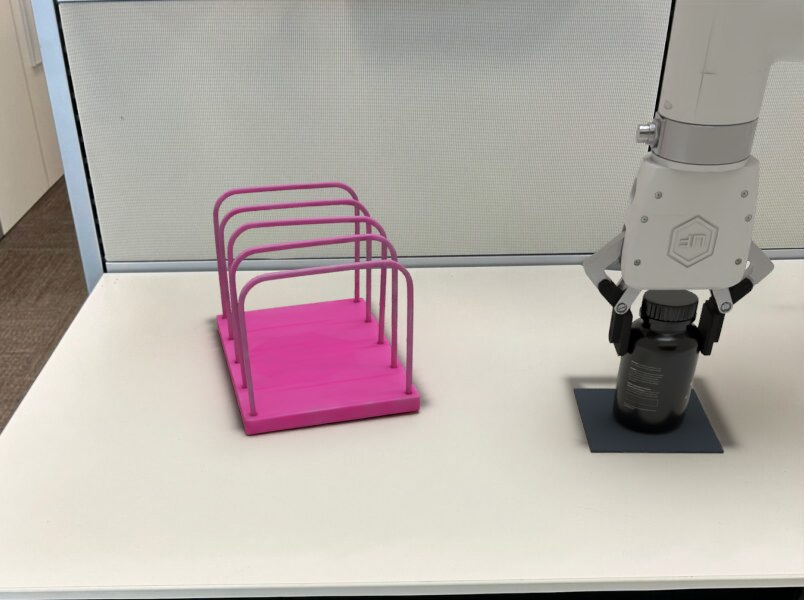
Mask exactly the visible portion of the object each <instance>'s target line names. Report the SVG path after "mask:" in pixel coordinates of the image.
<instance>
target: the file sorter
mask: <svg viewBox="0 0 804 600" xmlns="http://www.w3.org/2000/svg"><path fill="white" fill-rule="evenodd" d="M330 188H331V189H332V188H338V189H341V190H343V191H345V192H347V193H348V194H349V195H350V196H351V198H349V197H345V198H327V199H310V200H298V201H297V200H296V201H284V202H271V203H259V204H258V203H257V204H248V205H240V206H236V207H233V208H232V209H231V210H229V211H227V212H226V213H225V214H224V216H223V217H222V219H221V220H220V221H219V212H220V207H221V205H222V204H223V202H225V200H226V199H228V198H230V197H231V196H234V195H243V194H252V193H253V194H255V193H267V192H282V191H295V190H296V191H297V190H314V189H315V190H316V189H330ZM343 205H344V206H352V207H353V209H354V215H341V216H339V215H338V216H318V217H299V218H295V217H294V218H282V219H265V220H254V221H253V220H252V221H248V222H245V223H243V224H240V225H239V226H238V227H237V228H235V230H233V231H232V233H231V235H230V236H229V238H228V241H227V248H225V247H226V246H225V228H226V225H227V223H228V222H229V221H230V219H231V218H233V217H234V216H236V215H239V214H241V213H249V212H260V211H271V210H286V209H297V208H308V207H309V208H310V207H327V206H343ZM360 211H361V213H362V214H363V215H361V213H360ZM212 222H213V223H212V224H213V234H214V243H215V245H214V246H215V253H216V264H217V273H218V274H217V275H218V283H219V292H220V302H221V310H222V311H221V312H222V314H217V315H216V326H217V332H218V334H219V338H220V341H221V345H222V349H223V353H224V357H225V359H226V363H227V364H226V365H227V368H228V372H229V375H230V379H231V382H232V386H233V391H234V394H235V397H236V401H237V405H238V408H239V412H240V415H241V419H242V423H243V427H244V428H243V429H244V431H245V434H247V435H254V434H261V433H267V432H275V431H280V430H288V429H289V430H290V429H295V428H296V429H297V428H303V427H309V426H316V425H323V424H328V423H329V424H330V423H338V422H345V421H351V420H359V419H366V418H367V419H368V418H373V417H380V416H387V415H395V414H401V413H407V412H408V413H409V412H415V411H419V410H421V395H420V393H419V391H418V389H417V388H416V385H415V384H414V383H413V361H414V357H413V356H414V315H415V314H414V310H415V309H414V307H415V306H414V305H415V302H414V301H415V299H414V297H415V295H414V281H413V278H412V276H411V273H410V272H409V271H408V269H407V268H406V266H405V265H403V264H401V263H400V262H398V260H399V259H398V255H397V250H396V248H395V246H394V245H393V244H392V242H391V241H390V240H389V239H388V237H387V233H386V231H385V229H384V227H383V226H382V225H381V224H380V222H378V221H377V220H376V219H375V218H373V217H371V214H370V211H368V209H367V207H366V206H365V205H364V204H363V203H361V202H360V200H359V197H358V195H357V193H356V192H355V190H354V189H353V188H352V187H351V186H350V185H348V184H346V183H345V182H342V181H334V180H333V181H316V182H300V183H299V182H298V183H284V184H283V183H282V184H268V185H267V184H266V185H255V186H243V187H234V188H231V189H228V190H226V191H224V192H223V193H222V194H220V195H219V197H218V198H217V199H216V201H215V203H214V205H213V211H212ZM345 223H346V224H348V223H349V224H351V223H354V234H350V235H340V236H331V237H321V238H313V239H305V240H296V241H285V242H278V243H269V244H264V245H263V244H262V245H261V244H260V245H254V246H251V247H248V248H246V249H244V250H242V251H241V252H240V253H238V255H237V256H236V257H235V258H234V245H235V243H236V240H237V239H238V237H239V236H240V235H241V234H243V233H244V232H246V231H247V230H251V229H260V228H273V227H289V226H305V225H308V226H309V225H324V224H325V225H329V224H345ZM361 223H365V233H361V231H360V230H361ZM372 227H374V228H375V229H376V231H378V233H379V234H378V233H373V230H372V229H373V228H372ZM372 241H375V242H379V243H380V245H381V246H380V247H381V248H380V249H381V250H380V257H381V258H380V259H376V260H372V255H373V252H372V251H373V249H372V248H373V242H372ZM361 242H365V261H361V258H360V257H361V252H360V251H361ZM348 243H354V262H348V263H340V264H330V265H322V266H312V267H303V268H297V269H289V270H281V271H273V272H266V273H262V274H259V275H258V274H257V275H256V276H254V277H252V278H251V279H249V280H248V281H246V283H245V284H244V286H243V287H242V288H241V290H240V292H239V295H238V292H237V281H236V279H237V277H236V275H237V271H238V267H239V265H240V264H241V263H242V262H243V261H244V260H245V259H247V258H248V257H250V256H252V255H256V254H262V253H263V254H264V253H272V252H279V251H285V250H286V251H287V250H295V249H304V248H312V247H321V246H330V245H339V244H340V245H341V244H348ZM226 251H227V253H226ZM388 251H389V253H390V258H391V259H388ZM226 255H227V257H226ZM375 268H376V269H377V268H380V280H379V281H380V283H379V284H380V285H379V308H378V309H379V311H378V320H377V319H376V317H375V316H374V314H373V312H372V269H375ZM387 268H391V318H390V319H391V321H390V323H391V341H389V340H388V338H387V336H386V335H385V319H386V318H385V316H386V299H387V276H388V275H387V274H388V273H387V272H388V271H387V270H388V269H387ZM360 270H365V299H364V297H360V295H361V294H360V293H361V292H360V291H361V290H360V284H361V282H360V276H361V275H360V274H361V273H360V272H361V271H360ZM348 271H354V291H353V293H354V297H352V298H343V299H336V300H327V301H326V300H325V301H319V302H311V303H310V302H309V303H303V304H294V305H285V306H279V307H278V306H277V307H270V308H260V309H253V310H245V303H246V302H245V301H246V298H247V295H248V294H249V292H250V291H251V290H252V289H253V288H255V286H258V285H259V284H260V283H264V282H269V281H275V280H283V279H290V278H298V277H306V276H315V275H323V274H331V273H332V274H333V273H340V272H348ZM399 272H401V274H402V275H403V276H404V278H405V281H406V357H405V366H404V365H403V364H402V362H401V360H400V358H399V357H398V319H399V318H398V317H399V316H398V315H399V314H398V309H399V308H398V307H399V306H398V305H399V295H398V294H399ZM390 342H391V343H390Z"/></svg>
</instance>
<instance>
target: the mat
mask: <svg viewBox="0 0 804 600" xmlns="http://www.w3.org/2000/svg"><path fill="white" fill-rule="evenodd" d="M615 388H616V387H613V388H612V387H611V388H610V387H607V388H606V387H603V388H602V387H601V388H600V387H599V388H597V387H595V388H594V387H593V388H592V387H589V388H588V387H587V388H586V387H583V388H582V387H577V388H575V387H574V388H573V393H574V397H575V400H576V404H577V407H578V410H579V414H580V418H581V421H582V425H583V428H584V432H585V435H586V440H587V443H588V446H589V450H590V453H654V454H655V453H656V454H657V453H660V454H661V453H663V454H665V453H667V454H668V453H669V454H670V453H671V454H673V453H674V454H677V453H678V454H679V453H680V454H681V453H682V454H685V453H686V454H724V453H725V450H724V449H723V447H722V444H721V442H720V440H719V438H718V436H717V434H716V432H715V430H714V428H713V425H712V423H711V422H710V420H709V416H708V415H707V413H706V411H705V409H704V407H703V405H702V403H701V400H700V398H699V397H698V395H697V393H696V391H695V388H691V392H690V397H689V401H688V406H687V410H686V414H685V417H684V420H683V422H682V423H681V424H680V425H679V426H678V427H676V428H674V429H672V430H670V431H666V432H660V433H648V432H640V431H636V430H633V429H630V428H627V427H625V426H623V425H622V424H620V423H619V422H618V421H617V420H616V419H615V417H614V415H613V411H612V408H613V401H614V394H615Z"/></svg>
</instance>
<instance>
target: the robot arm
mask: <svg viewBox="0 0 804 600" xmlns="http://www.w3.org/2000/svg"><path fill="white" fill-rule="evenodd" d="M777 62H787V63H788V62H791V63H804V0H676V5H675V11H674V16H673V23H672V28H671V35H670V40H669V47H668V53H667V58H666V64H665V71H664V77H663V81H662V82H663V83H662V89H661V95H660V101H659V105H658V106H659V107H658V111H655V116H654V118H653V119H652V121H651V122H650V121H649V122H647V123H641V124H640V123H639V124H638V125H637V127H636V131H635V143H636V144H645V145H646V146H647V145H648V146H649V147H650V148H651V151H647V152H645V153H644V154H643V155H642V158H641V161H640V163H639V165H638V168H637V170H636V174H635V176H634V180H633V182H632V183H633V184H632V186H631V190H630V193H629V197H628V200H627V204H626V208H625V213H624V216H623V221H622V225H621V228H620V233H619V234H617V235H616V236H615V237H614V238H612V239H611V240H610V241H608V242H607V243H605V244H604V245H603V246H602V247H600V248H599V249H598V250H597V251H595V252H594V253H593V254H591V255H590V256H589V257H588V258H586V259H585V260H584V261H583V263H582V268H583V271H584V273H585V275H586V276H587V277H588V279H589V280H590V282H591V283H592V284H593V285H594V286H595V288H596V289H597V290H598V292H599V294H600V295H601V297H603V298H604V299H605V300H606V302H607V303H608V304H609V305H610V306H611V307H612V308H611V309H612V310H611V315H610V321H609V327H608V334H607V335H608V336H607V337H608V342H609V344H612V345H613V347H614V349H615V352H616V355H617V357H621V356H624V355H626V354H627V349H628V344H629V338H630V332H631V327H632V322H633V321H634V314H633V312H632V310H631V307H632V305H633V304H634V302H635V301H636V299H637V298H638V297H639V295H640V293H641V292H642V291H647V290H688V291H692V290H693V291H694V290H703V291H704V290H708V291H709V294H710V296H709V297H708V299H705V301H704V302H703V303H702V307H701V311H700V315H699V320H698V325H697V327H698V329H699V330H700V333H701V336H702V343H701V348H700V354H701V355H702V356H704V357H709V356H711V355H712V352H713V347H714V343H716V344H718V343H719V341H720V337H721V334H722V330H723V325H724V322H725V317H726V314H728V313H730V312H731V311H732V310H733V308H734V305H735V304H737V303H738V302H739V301H740V300H742V299H744V297H746V296H747V295H748V294H750V293H751V292H752V291H753V289H754V287H755V286H756V285H758V284H759V283H761V282H762V281H763V280H764V279H765V278H766V277H767V276H769V275H770V274H771V273H772V272H773V271H774V269H775V264H774V262H773V261H772V260H771V258H769V256H768V255H767V254H766V253H765V252H764V251H763V250H762V248H760V247H759V245H757V244H756V243H755V242H754V240H753V232H754V225H755V219H756V212H757V204H758V203H757V202H758V195H759V187H760V186H759V183H760V160H759V159H758V158H757V157H755V156H754V155H753V154H751V152H752V148H753V143H754V139H755V135H756V131H757V127H758V123H759V118H760V114H761V111H762V110H761V109H762V105H763V100H764V96H765V92H766V88H767V84H768V80H769V75H770V71H771V68H772V66H773V65H774V64H776V63H777ZM614 262H616V265H617V268H619V269H620V273H621V277H620V279H619V280H618V281H617V283H615V282H614V281H613V280H612V278H611V277H610V276H609V275H608V274H607V273H606V271H605V270H606V268H608V267H609V266H610V265H612V264H613V263H614ZM748 262H749V265H748V266H747V264H748ZM746 267H747V268H746Z"/></svg>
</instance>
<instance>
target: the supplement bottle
mask: <svg viewBox="0 0 804 600" xmlns="http://www.w3.org/2000/svg"><path fill="white" fill-rule="evenodd" d="M699 299H700V298H699V297H698V295H697V294H696V293H694V292H693V291H691V290H645V292H643V295H642V299H641V304H640V306H639V310H638V316H639V317H638V318H636V319H634V320H633V321H632V327H631V332H630V338H629V344H628V349H627V354H626V355H624V356H620V360H619V365H618V366H619V367H618V370H617V377H616V383H615V387H614V388H615V394H614V401H613V408H612V411H613V415H614V417H615V419H616V420H617V421H618V422H619V423H620V424H622V425H623V426H625V427H627V428H630V429H633V430H636V431H640V432H648V433H660V432H666V431H670V430H672V429H674V428H676V427H678V426H679V425H680V424H681V423H682V422H683V420H684V417H685V414H686V410H687V406H688V401H689V397H690V392H691V389H693V388H692V387H693V383H694V380H695V374H696V370H697V367H698V366H697V365H698V361H699V357H700V354H701V352H700V348H701V343H702V336H701V333H700V330H699V329H698V325H696V324H695V323H694V322H695V321H696V319H697V315H698V313H697V311H698V308H699V302H700V300H699Z"/></svg>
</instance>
